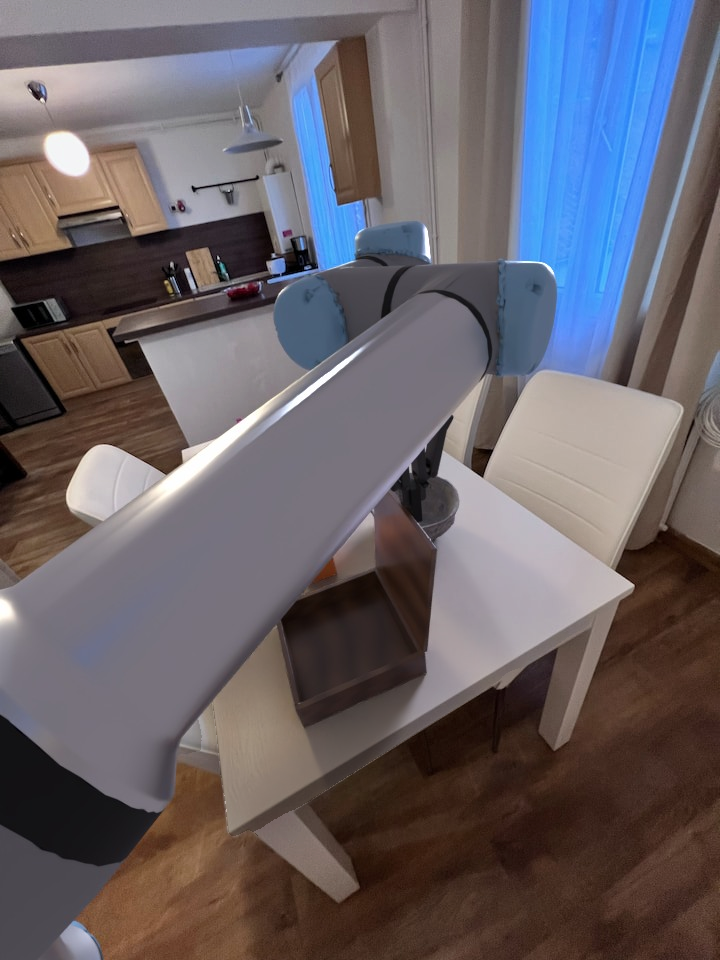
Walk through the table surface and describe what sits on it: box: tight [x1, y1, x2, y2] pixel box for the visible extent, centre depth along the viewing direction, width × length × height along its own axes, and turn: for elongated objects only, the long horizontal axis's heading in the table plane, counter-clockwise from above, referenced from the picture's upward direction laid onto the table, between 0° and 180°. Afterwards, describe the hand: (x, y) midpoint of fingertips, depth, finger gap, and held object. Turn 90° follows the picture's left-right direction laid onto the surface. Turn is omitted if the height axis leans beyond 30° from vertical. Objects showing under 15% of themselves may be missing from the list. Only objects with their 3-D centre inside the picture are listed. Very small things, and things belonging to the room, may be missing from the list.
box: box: [276, 566, 428, 729], centre depth 73 cm, size 22×21×6 cm
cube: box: [310, 557, 338, 585], centre depth 89 cm, size 7×7×7 cm
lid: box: [373, 489, 438, 654], centre depth 67 cm, size 23×21×4 cm
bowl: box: [370, 472, 460, 541], centre depth 94 cm, size 21×21×10 cm
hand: (414, 517), depth 63 cm, fingers closed
